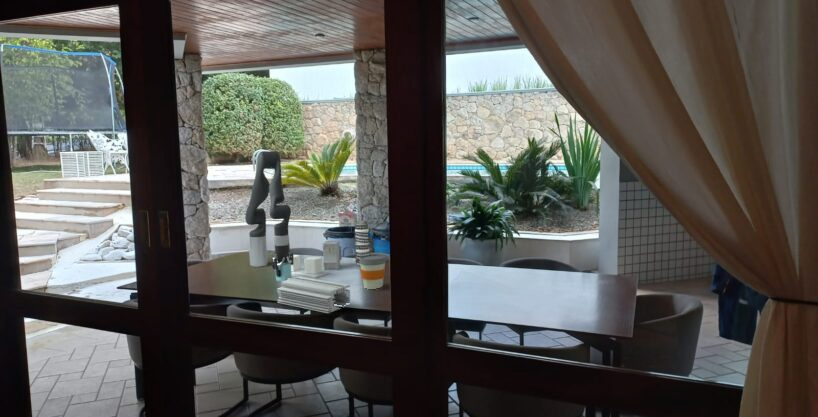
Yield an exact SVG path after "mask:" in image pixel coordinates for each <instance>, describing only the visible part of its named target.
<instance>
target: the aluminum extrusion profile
mask: <svg viewBox="0 0 818 417" xmlns="http://www.w3.org/2000/svg"><path fill="white" fill-rule="evenodd" d="M280 285H281V286H280V287H279V288H276V292H277V295H278V297H277V298H278V299H276V301H277V302H276V303H278V304H283V305H288V306H291V307H297V308H302V309H307V310H310V311H311V310H312V311H316V312H321V313H324V314H325V313H326V314H330V313H332V312H335V311H338V310H340V309H341V308H339V306H334V304H337V305H342V306H344V305H346V303H350V304H351V290H350V289H347V288H350V287H351V284H347V283H340V282H335V281H328V280H323V279H317V278H307V277H299V276H292V277H291V278H288V279H287V280H286V281H280Z"/></svg>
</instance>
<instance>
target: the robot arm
mask: <svg viewBox="0 0 818 417" xmlns="http://www.w3.org/2000/svg"><path fill="white" fill-rule="evenodd" d="M281 165H282V164H281V157H280V154H279V152H278V151H266V150H265V151H260V152H258V156H257V162H256V170H255V177H254V180H253V184H252V189H251V195H250V199H249V202H248V205H247V209H246V211H245V217H244V218H245V223H246V224H247V225H249V226H256V225H257V226H256V227H255V228H254V229H252V230H251V231H249V233H248V234H249V249H248V253H249V265H250V267H254V268H255V267H265V266H268V251H267V250H268V249H267V248H268V246H267V214H266V210H265V209H264V208H259V207H260V205H262V204H263V203H264V202H265V201H266V200H267V198H268V197H270V207H269V215H270V218H272V219H273V220H282V221H281V222H278V223H275V224H274V226H273V227H274V229H273V230H274V232H273V233H274V239H273V240H274V253H275V257H271V265H272V270H275V276H276V275H277V277H281V270H280V268H281V266H282V264H283V263H291V265H293V255H294V253H291V249H290V245H291V244H290V235H289V224H290V218H291V213H292V209H291V207H290V206H289V205H288V204H282V203H284V202H285V194H284V188H283V183H282V182H283V181H282V166H281ZM266 169H267V170H271V169H272V170H274V174H273V176H272V178H271V180H270V182H269V179H268V178H267V177H266V174H265V172H264V171H265V170H266ZM279 204H280V205H279ZM279 263H280V264H279ZM278 266H279V267H278Z"/></svg>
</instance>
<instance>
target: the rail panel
mask: <svg viewBox="0 0 818 417" xmlns="http://www.w3.org/2000/svg"><path fill="white" fill-rule="evenodd" d="M303 260H304V262H303V263H304V268H303V267H302V263H301V255H300V254H299V255H298V254H293V265H291V277H306V278H312V279H317V278H320V277H323V276H326V275H329V274H330V272H329V271H330V270H323V257H319V256H309V257H306V258H303Z"/></svg>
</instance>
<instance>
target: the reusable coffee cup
mask: <svg viewBox="0 0 818 417" xmlns="http://www.w3.org/2000/svg"><path fill="white" fill-rule="evenodd" d="M386 263H387V262H386V256H385V255H383V254H378V253H377V254H370V255H364V256H361V257H360V265H359V266H360V274H361V279H362V282H363V287H364V289H365V288H367V289H366V290H368V289H376V288H380V287H382V286H383V287H384V278H385V274H386V267H385V265H386ZM383 287H382V288H383ZM376 290H377V289H376Z"/></svg>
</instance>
